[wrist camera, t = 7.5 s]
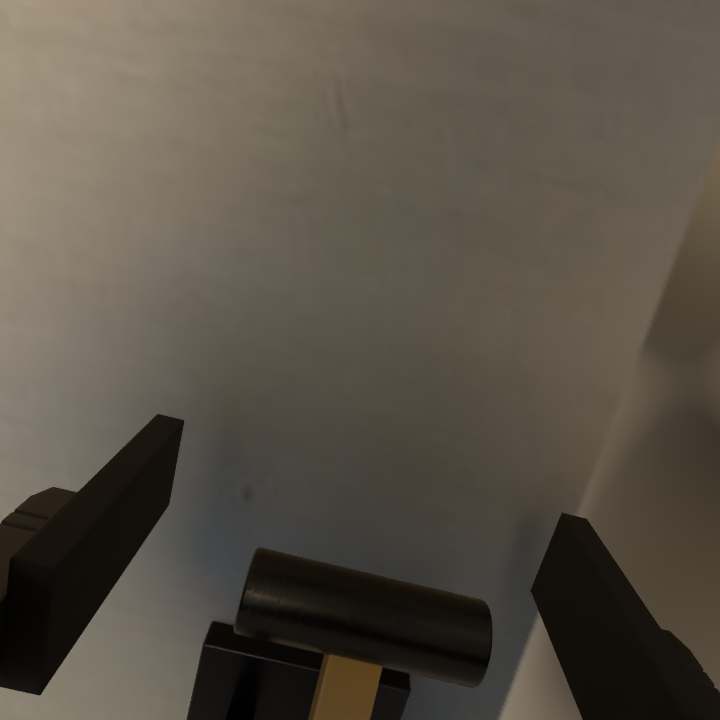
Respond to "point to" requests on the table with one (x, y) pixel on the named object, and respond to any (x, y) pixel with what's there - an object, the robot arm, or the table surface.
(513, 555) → the table surface
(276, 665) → the switch bracket
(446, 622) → the switch lever
